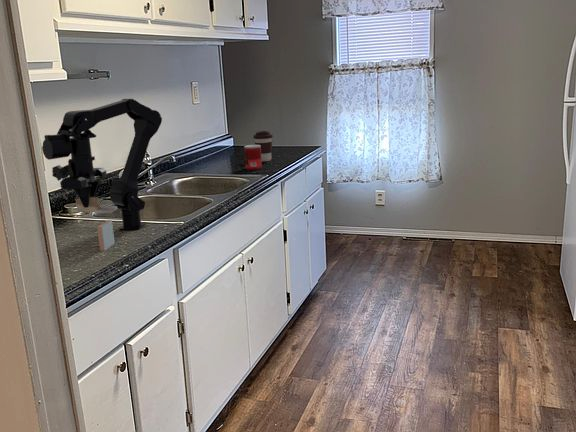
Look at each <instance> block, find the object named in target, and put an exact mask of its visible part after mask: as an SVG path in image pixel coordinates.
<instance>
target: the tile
mask: <svg viewBox="0 0 576 432" xmlns="http://www.w3.org/2000/svg"><path fill="white" fill-rule="evenodd" d="M96 231H97V237H98V244H99V250H100V251H102V252H103V251H106V250H108V249H109V248H111V247H112V246H113V245H114V244H115V242H116V241H115V236H114V235H115V234H114V226H113V220H112V219H109V220H108V219H107V220H105V221H104V222H102V223H101V224H99V225H98V226H96Z"/></svg>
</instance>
